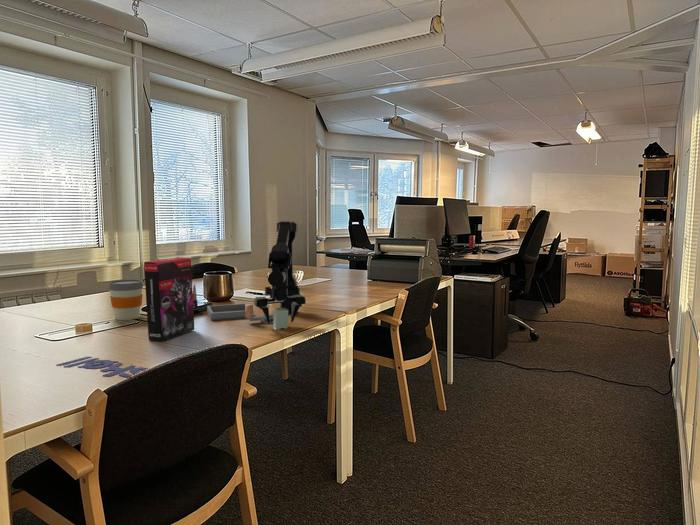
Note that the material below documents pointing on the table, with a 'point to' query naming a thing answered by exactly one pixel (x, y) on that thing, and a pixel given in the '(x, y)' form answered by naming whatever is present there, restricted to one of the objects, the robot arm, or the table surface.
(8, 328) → the table surface
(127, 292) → the reusable coffee cup
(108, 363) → the signage
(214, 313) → the tray
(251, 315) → the crank
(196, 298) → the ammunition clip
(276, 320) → the block
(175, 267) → the graphics card box
